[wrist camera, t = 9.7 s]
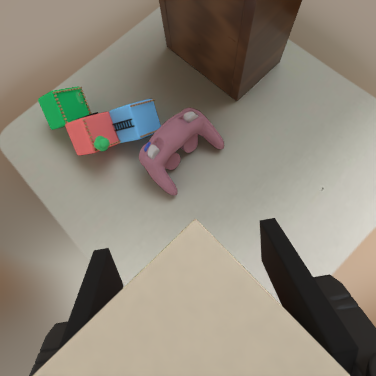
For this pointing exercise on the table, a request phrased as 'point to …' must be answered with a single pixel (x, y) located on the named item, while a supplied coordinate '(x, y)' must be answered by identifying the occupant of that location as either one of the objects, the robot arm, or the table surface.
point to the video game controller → (176, 144)
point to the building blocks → (97, 120)
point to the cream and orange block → (192, 323)
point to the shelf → (229, 37)
